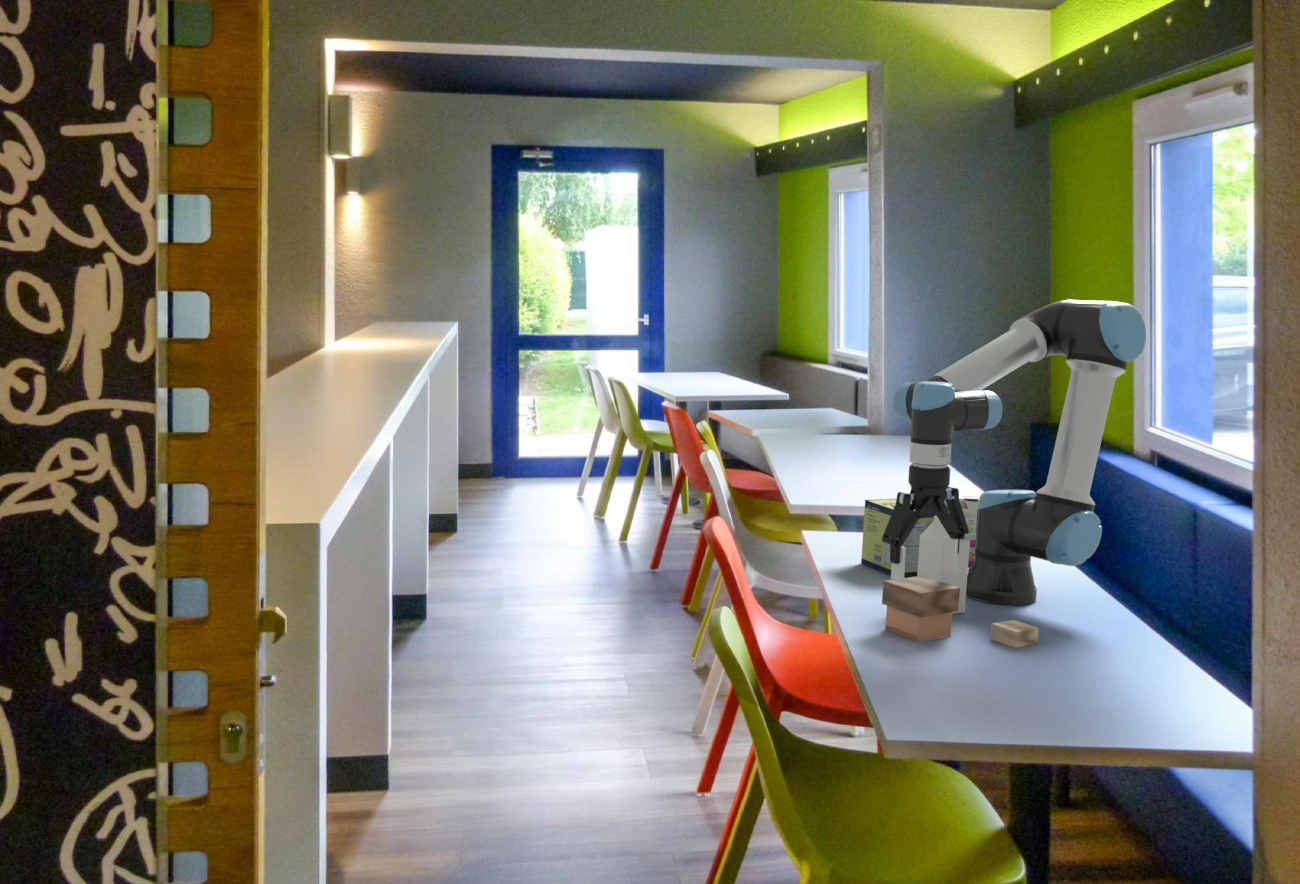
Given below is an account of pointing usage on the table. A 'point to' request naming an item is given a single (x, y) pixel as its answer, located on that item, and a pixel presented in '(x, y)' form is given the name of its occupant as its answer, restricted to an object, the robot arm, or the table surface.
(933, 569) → the milk carton
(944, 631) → the open square box
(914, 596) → the brown box
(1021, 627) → the stand
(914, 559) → the protein box
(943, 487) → the robot arm
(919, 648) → the table surface
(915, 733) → the table surface
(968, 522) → the candy bar box
